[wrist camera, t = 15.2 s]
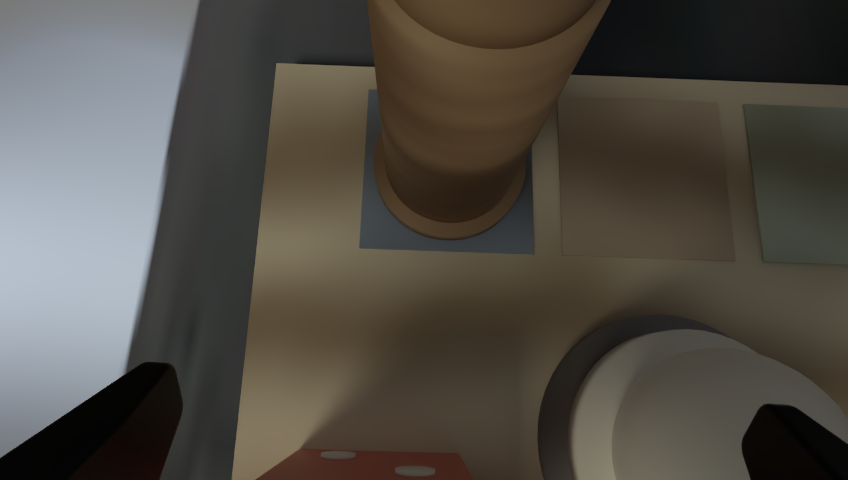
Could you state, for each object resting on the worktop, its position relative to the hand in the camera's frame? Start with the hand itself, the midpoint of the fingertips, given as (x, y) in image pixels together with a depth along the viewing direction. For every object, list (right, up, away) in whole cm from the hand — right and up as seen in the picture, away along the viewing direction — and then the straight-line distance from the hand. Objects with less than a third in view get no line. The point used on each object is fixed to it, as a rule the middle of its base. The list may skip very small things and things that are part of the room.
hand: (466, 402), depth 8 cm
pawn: (0, +5, +11) cm, 12 cm away
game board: (+6, -1, +10) cm, 12 cm away
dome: (+7, -4, +8) cm, 11 cm away
